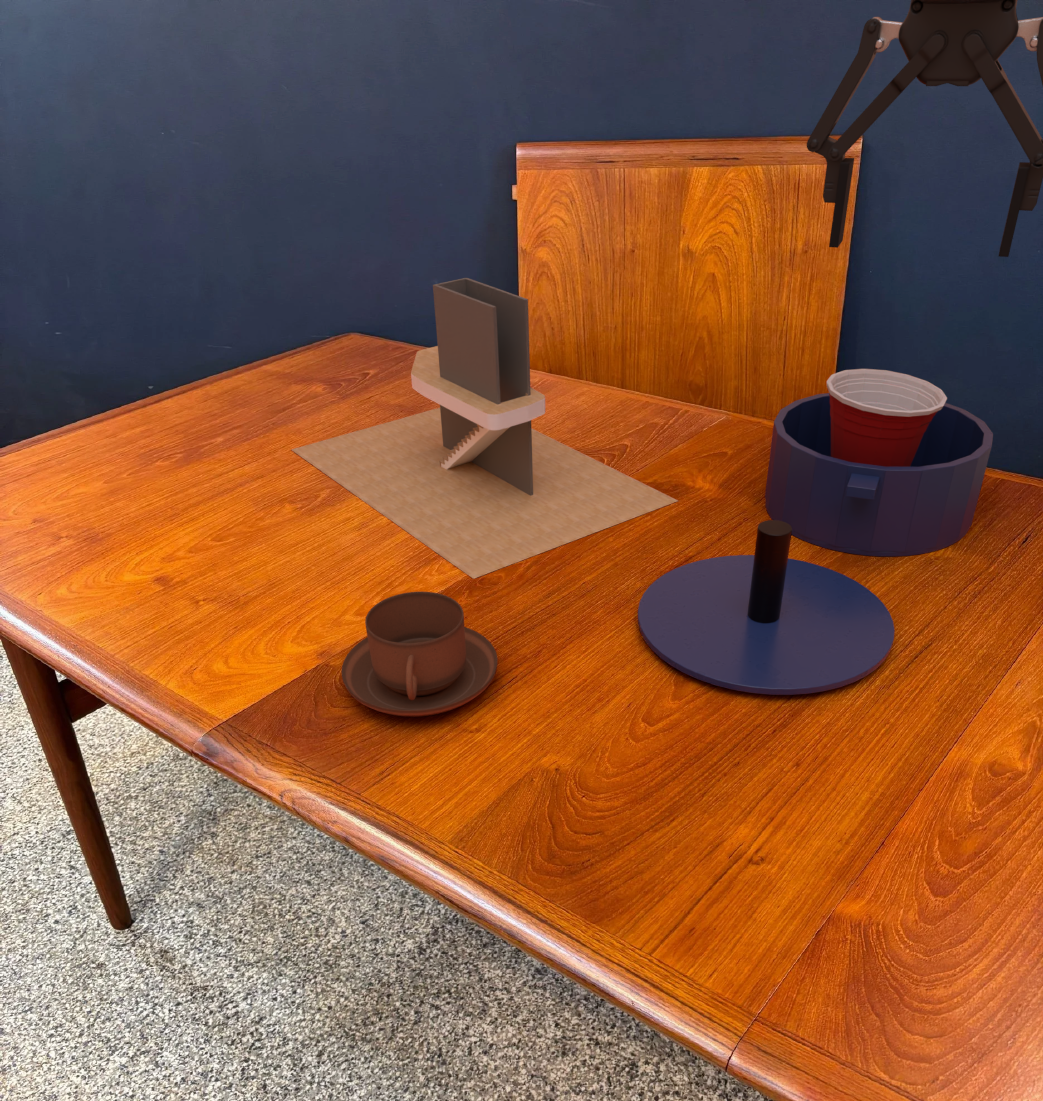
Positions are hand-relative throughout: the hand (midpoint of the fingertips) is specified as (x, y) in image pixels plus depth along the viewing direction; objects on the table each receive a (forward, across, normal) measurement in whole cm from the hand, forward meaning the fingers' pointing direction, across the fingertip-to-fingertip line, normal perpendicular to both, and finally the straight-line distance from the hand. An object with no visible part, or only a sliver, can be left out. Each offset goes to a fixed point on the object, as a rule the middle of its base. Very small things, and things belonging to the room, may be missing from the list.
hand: (917, 248), depth 86 cm
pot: (+24, 0, 0) cm, 24 cm away
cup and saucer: (+24, -28, -42) cm, 56 cm away
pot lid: (+24, -5, -25) cm, 35 cm away
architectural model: (+24, -41, -5) cm, 48 cm away
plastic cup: (+24, 0, 0) cm, 24 cm away
